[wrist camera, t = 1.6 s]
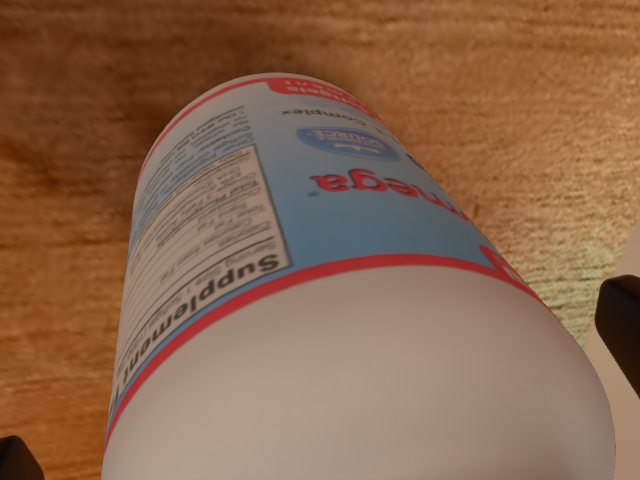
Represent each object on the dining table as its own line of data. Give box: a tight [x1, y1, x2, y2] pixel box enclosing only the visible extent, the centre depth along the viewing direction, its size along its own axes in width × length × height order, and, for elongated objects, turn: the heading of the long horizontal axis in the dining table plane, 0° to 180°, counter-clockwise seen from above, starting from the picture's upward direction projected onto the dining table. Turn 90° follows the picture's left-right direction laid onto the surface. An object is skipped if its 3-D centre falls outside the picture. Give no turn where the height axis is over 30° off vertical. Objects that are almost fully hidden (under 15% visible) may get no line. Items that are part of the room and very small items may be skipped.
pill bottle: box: [101, 72, 616, 480], centre depth 9 cm, size 6×6×11 cm
